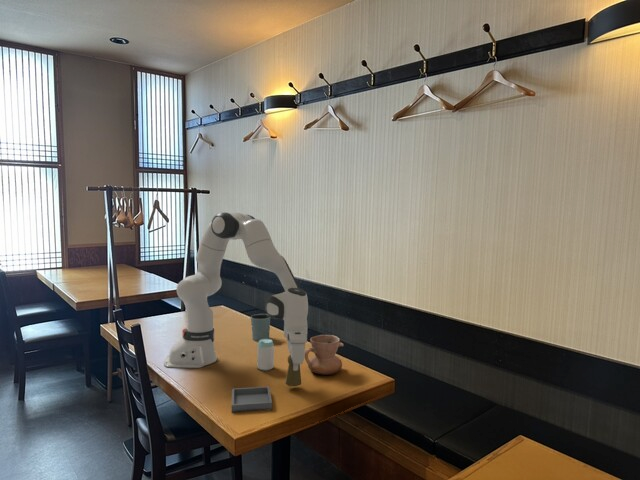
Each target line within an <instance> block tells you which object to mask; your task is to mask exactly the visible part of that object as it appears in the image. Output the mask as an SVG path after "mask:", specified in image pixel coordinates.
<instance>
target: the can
mask: <svg viewBox="0 0 640 480" xmlns="http://www.w3.org/2000/svg"><path fill="white" fill-rule="evenodd" d="M256 347H257V348H256V350H257V352H256V353H257V355H256V356H257V357H256V363H257V365H256V367H257V369H259V370H260V371H270V370H272V369H273V368H274V367H275V365H274V364H275V344H274V342H273V339H270V338H269V339H261V340H259V341H258V343H257V346H256Z"/></svg>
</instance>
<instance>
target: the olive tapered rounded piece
mask: <svg viewBox="0 0 640 480" xmlns="http://www.w3.org/2000/svg"><path fill="white" fill-rule="evenodd" d="M287 363H288V366H287V367H288V368H287V373H286V377H285V385H287V386H289V387H298V386H301V385H302V376H301V364H299V365H298V370H297V371H294V370H293V361H292V358H291V355H290V354H289V355H288V356H287Z"/></svg>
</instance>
